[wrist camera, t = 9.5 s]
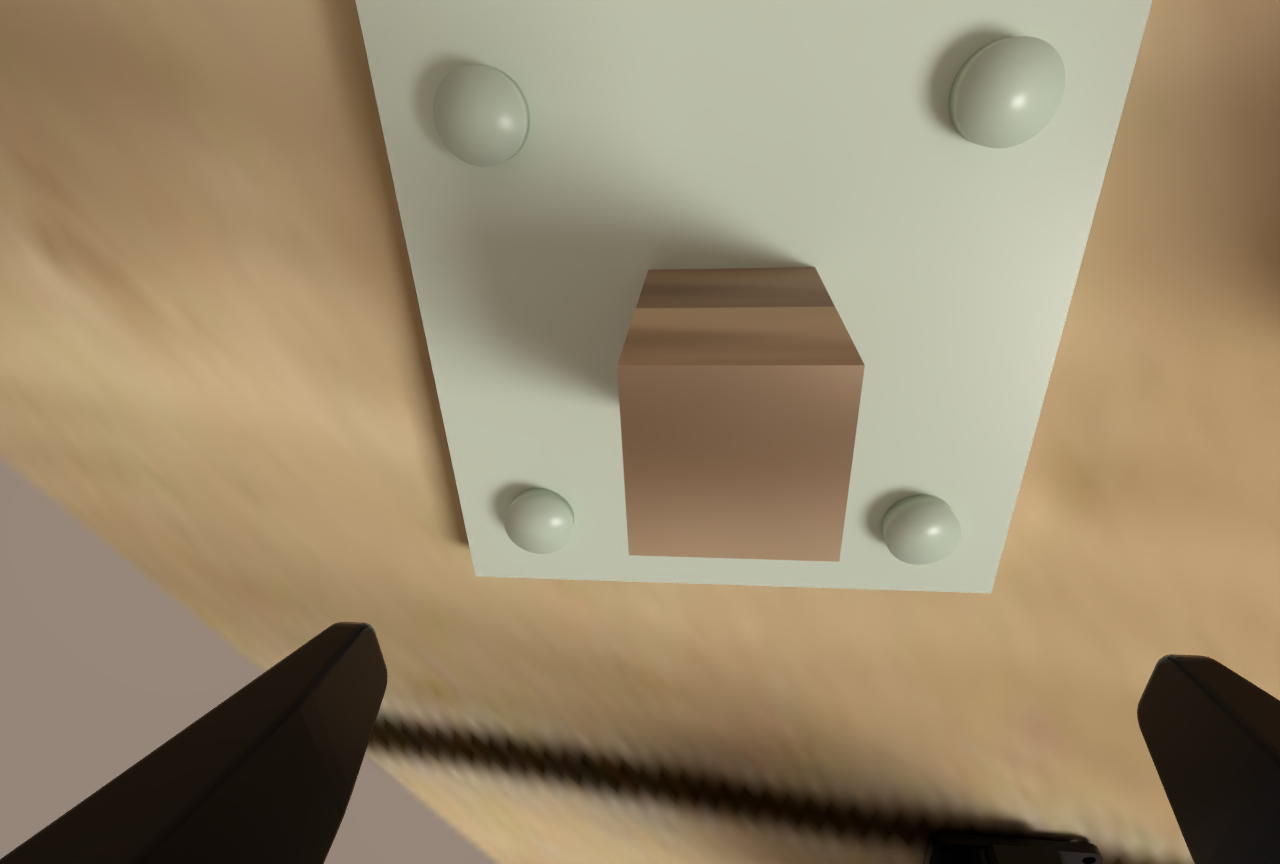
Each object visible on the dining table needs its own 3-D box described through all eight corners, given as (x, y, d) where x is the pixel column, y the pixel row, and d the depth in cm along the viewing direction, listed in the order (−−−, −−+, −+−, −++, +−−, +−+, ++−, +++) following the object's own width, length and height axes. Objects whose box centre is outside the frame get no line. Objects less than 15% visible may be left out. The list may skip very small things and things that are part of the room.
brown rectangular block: (802, 416, 18) (839, 561, 13) (653, 414, 18) (628, 555, 13) (815, 267, 16) (864, 365, 11) (648, 269, 16) (616, 365, 11)
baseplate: (977, 567, 21) (998, 607, 19) (486, 553, 23) (469, 589, 21) (1134, -54, 13) (1190, -70, 12) (378, -5, 15) (339, -13, 14)
